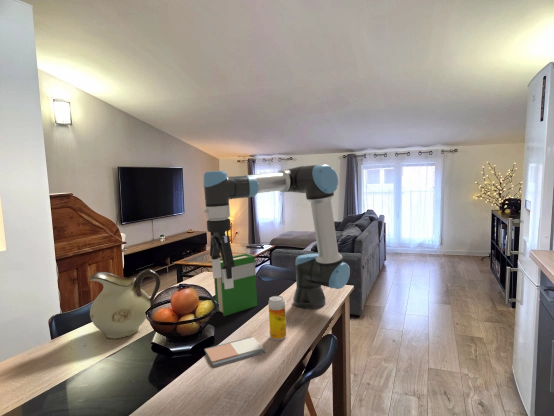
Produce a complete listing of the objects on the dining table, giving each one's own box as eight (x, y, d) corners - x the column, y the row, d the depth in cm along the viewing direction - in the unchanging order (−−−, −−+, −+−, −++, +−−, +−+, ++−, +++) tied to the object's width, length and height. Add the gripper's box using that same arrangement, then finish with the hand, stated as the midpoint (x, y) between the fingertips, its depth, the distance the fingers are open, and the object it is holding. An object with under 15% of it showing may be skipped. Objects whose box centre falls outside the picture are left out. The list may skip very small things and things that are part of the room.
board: (252, 338, 128) (251, 335, 128) (264, 352, 117) (264, 349, 117) (204, 351, 120) (204, 347, 120) (213, 367, 110) (213, 363, 110)
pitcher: (79, 338, 135) (73, 276, 133) (128, 316, 156) (124, 262, 154) (119, 349, 125) (114, 282, 123) (165, 323, 146) (162, 266, 144)
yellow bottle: (284, 341, 125) (282, 301, 124) (268, 340, 126) (266, 301, 125) (287, 333, 131) (285, 295, 129) (272, 333, 132) (270, 295, 131)
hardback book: (224, 316, 151) (220, 262, 149) (216, 311, 157) (213, 260, 155) (257, 305, 161) (254, 255, 159) (248, 301, 167) (246, 253, 165)
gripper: (198, 216, 120) (202, 275, 122) (217, 224, 98) (222, 295, 100) (218, 214, 123) (223, 272, 125) (242, 221, 101) (246, 290, 103)
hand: (222, 282), depth 113 cm, fingers open, 13 cm apart
